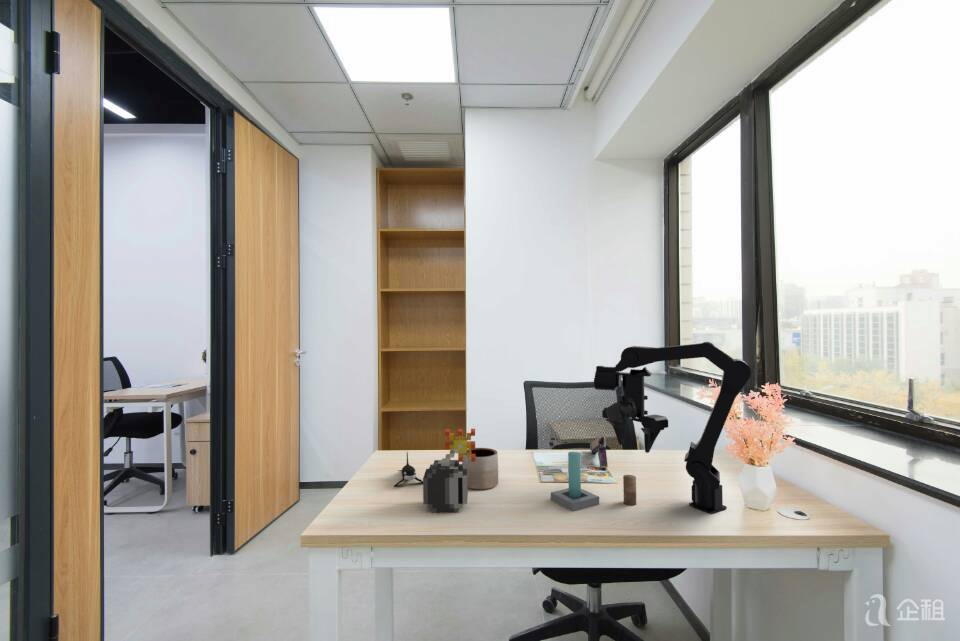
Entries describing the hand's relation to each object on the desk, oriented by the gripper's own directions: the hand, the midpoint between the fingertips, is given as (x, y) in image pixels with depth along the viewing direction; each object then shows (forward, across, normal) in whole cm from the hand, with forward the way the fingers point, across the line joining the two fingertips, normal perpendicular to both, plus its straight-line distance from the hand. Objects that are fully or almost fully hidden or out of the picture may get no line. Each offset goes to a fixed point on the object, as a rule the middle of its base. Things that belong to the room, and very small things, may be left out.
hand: (633, 448), depth 126 cm
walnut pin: (+13, +3, -5) cm, 14 cm away
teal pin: (+13, -5, -17) cm, 22 cm away
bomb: (+14, -19, -47) cm, 52 cm away
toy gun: (+14, -30, +15) cm, 36 cm away
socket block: (+13, -5, -17) cm, 22 cm away
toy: (+14, -46, -49) cm, 68 cm away
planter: (+14, -30, -32) cm, 46 cm away
